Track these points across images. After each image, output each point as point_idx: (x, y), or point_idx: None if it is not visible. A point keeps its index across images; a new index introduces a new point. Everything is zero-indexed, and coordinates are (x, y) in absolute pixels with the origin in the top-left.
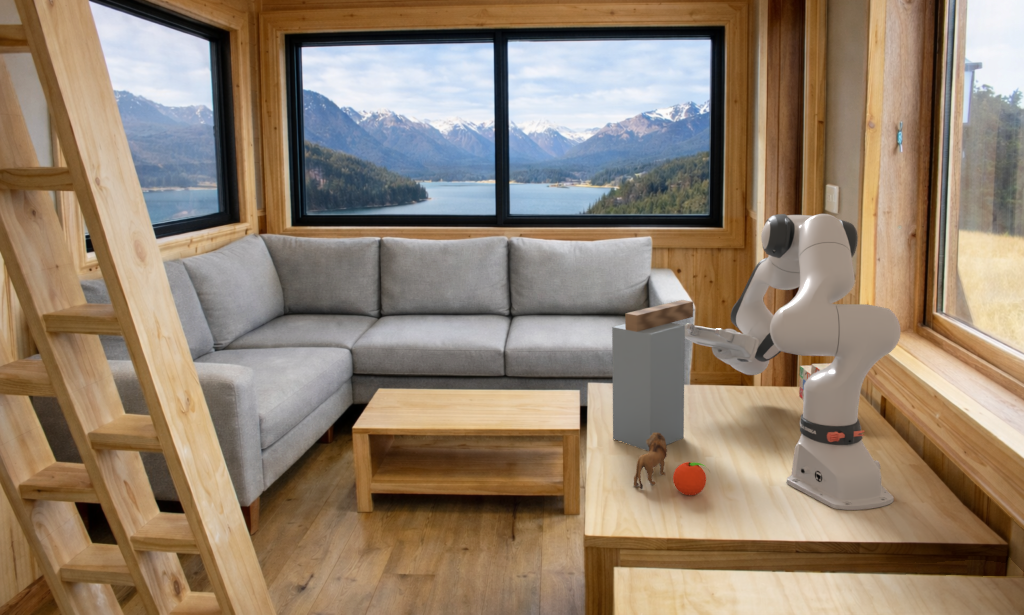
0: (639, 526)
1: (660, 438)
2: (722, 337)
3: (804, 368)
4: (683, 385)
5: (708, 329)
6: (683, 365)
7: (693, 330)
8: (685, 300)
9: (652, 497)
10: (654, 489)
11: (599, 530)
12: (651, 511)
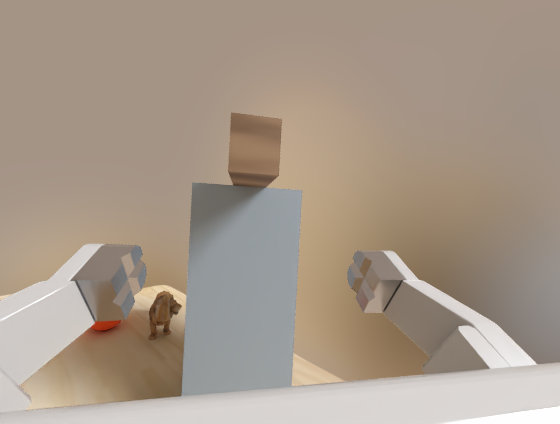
0: (137, 293)
1: (159, 297)
2: (74, 329)
3: None
4: (185, 324)
5: (349, 386)
6: (188, 276)
7: (438, 350)
8: (265, 117)
9: (143, 312)
10: (147, 319)
11: (161, 285)
12: (135, 303)
